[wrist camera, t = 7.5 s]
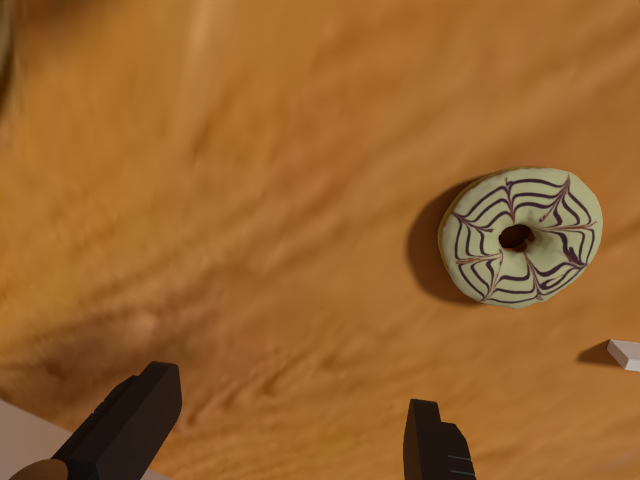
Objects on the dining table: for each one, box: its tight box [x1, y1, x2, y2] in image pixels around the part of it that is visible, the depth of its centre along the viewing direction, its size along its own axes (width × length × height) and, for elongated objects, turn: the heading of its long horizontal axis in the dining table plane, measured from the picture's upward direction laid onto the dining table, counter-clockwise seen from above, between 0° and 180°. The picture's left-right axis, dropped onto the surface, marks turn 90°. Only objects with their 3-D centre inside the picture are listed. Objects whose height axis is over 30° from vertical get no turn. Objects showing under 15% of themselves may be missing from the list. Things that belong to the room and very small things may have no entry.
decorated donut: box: [438, 166, 603, 309], centre depth 27 cm, size 10×11×4 cm
